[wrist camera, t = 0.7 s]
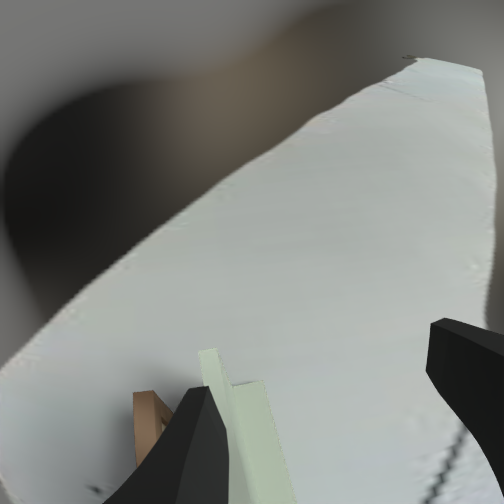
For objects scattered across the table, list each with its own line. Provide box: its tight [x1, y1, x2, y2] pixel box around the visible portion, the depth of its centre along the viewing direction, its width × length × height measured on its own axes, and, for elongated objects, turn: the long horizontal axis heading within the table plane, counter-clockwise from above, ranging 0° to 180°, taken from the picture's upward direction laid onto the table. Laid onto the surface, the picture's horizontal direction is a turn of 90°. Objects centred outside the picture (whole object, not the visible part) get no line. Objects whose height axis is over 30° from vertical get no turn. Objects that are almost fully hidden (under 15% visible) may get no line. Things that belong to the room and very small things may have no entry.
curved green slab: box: [198, 348, 297, 504], centre depth 16 cm, size 18×8×10 cm, turn 13°
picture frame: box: [133, 390, 173, 467], centre depth 15 cm, size 16×2×6 cm, turn 13°
